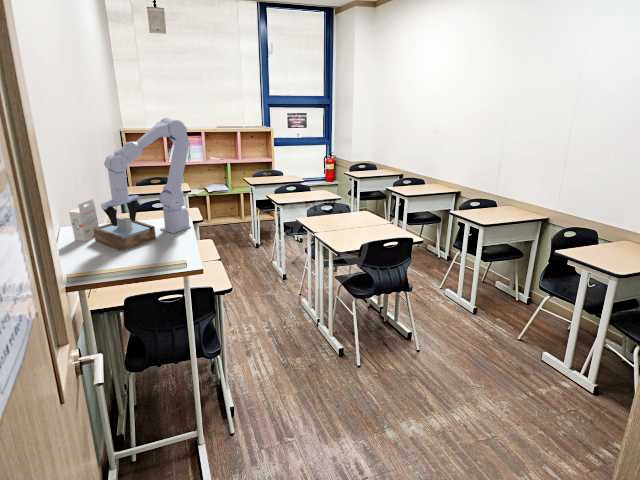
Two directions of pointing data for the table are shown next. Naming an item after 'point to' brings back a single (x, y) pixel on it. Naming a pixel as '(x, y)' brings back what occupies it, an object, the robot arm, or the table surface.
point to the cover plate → (126, 233)
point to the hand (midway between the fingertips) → (123, 223)
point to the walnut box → (126, 243)
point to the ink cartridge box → (84, 221)
